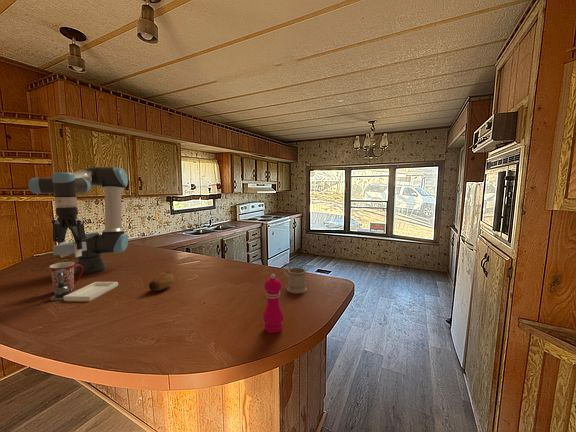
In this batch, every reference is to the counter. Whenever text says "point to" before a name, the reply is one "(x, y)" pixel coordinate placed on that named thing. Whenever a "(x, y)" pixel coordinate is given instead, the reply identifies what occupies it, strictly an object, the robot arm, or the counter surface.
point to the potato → (161, 281)
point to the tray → (91, 291)
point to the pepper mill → (273, 306)
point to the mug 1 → (65, 274)
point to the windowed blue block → (67, 248)
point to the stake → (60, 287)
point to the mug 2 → (296, 279)
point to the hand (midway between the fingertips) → (71, 256)
